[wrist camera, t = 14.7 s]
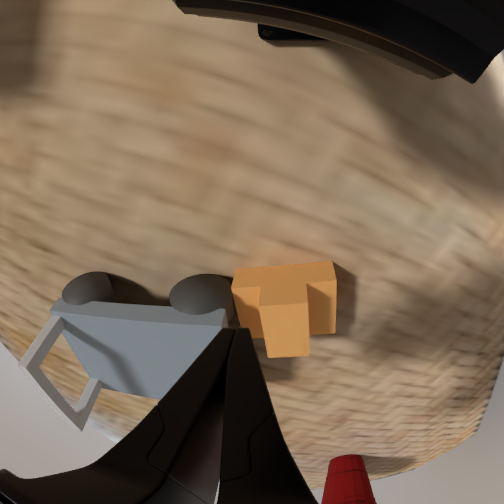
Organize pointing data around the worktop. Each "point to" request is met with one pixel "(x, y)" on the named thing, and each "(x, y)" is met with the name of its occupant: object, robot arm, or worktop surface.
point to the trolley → (128, 338)
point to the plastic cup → (347, 482)
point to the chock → (286, 305)
